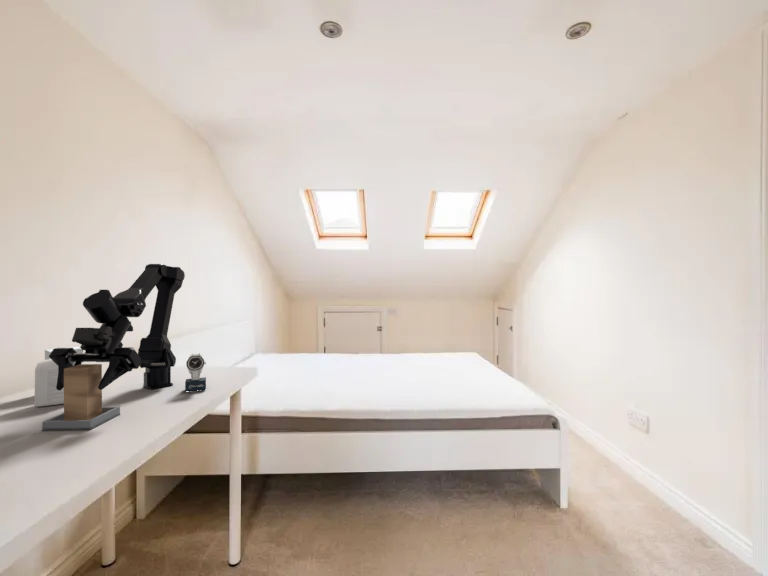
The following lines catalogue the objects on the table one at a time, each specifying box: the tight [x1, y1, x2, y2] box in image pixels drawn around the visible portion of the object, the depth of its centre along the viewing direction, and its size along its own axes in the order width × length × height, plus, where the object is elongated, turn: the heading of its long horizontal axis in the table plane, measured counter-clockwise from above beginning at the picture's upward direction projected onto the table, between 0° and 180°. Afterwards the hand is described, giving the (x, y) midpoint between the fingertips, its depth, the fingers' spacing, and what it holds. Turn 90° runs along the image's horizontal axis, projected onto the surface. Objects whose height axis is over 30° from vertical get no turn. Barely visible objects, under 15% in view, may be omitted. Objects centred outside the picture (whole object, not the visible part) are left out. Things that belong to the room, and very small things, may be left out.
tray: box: [41, 406, 121, 432], centre depth 90 cm, size 10×10×2 cm
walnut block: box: [63, 363, 103, 420], centre depth 90 cm, size 5×5×12 cm
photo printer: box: [33, 359, 84, 408], centre depth 105 cm, size 10×4×12 cm, turn 123°
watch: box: [184, 353, 207, 393], centre depth 118 cm, size 6×8×11 cm
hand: (78, 389), depth 89 cm, fingers open, 9 cm apart
